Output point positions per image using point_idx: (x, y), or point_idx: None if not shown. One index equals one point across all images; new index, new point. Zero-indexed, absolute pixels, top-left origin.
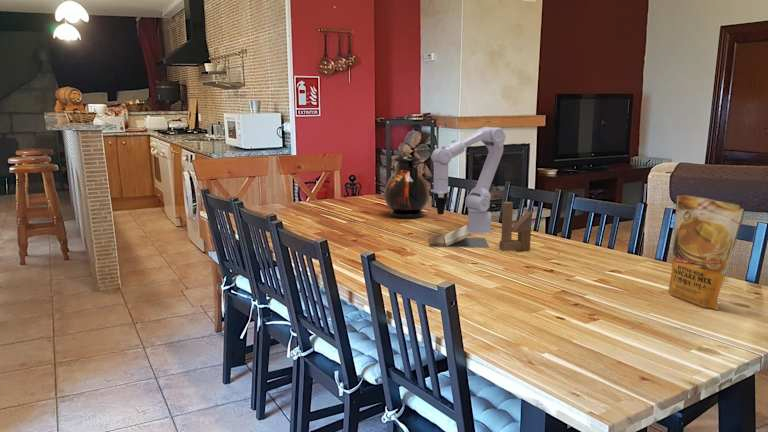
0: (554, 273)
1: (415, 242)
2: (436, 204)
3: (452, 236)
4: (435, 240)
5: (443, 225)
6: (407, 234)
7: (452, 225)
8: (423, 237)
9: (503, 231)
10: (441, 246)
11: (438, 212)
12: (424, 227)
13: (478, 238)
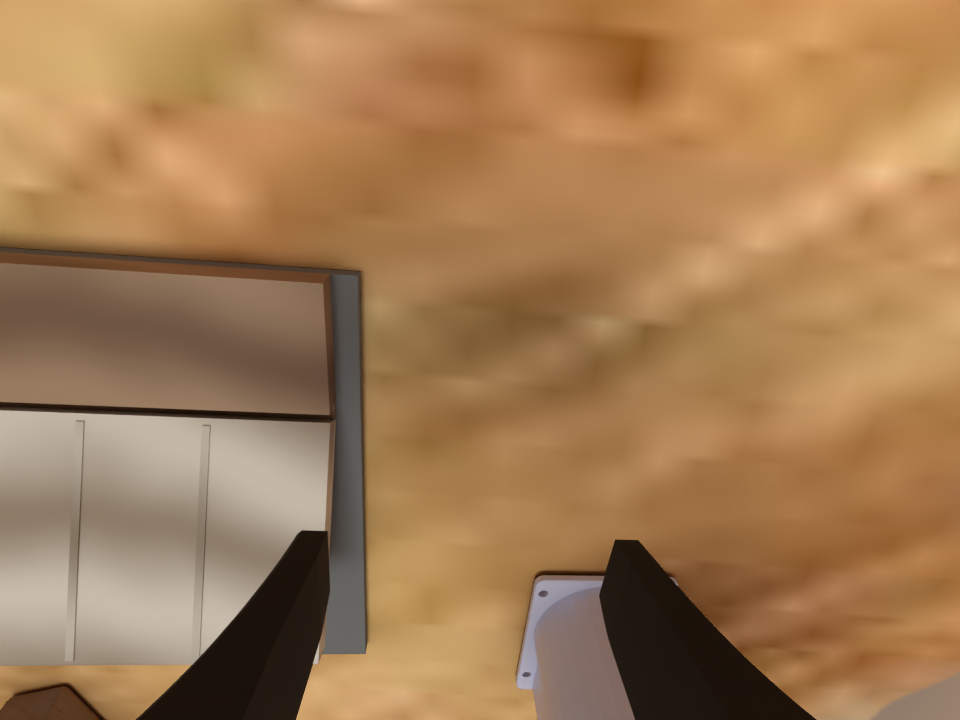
0: None
1: (150, 95)
2: (158, 698)
3: (98, 498)
4: (42, 327)
5: (906, 441)
6: (587, 20)
7: (875, 503)
8: (419, 216)
9: None
10: None
11: (285, 562)
12: (895, 267)
13: (342, 623)
